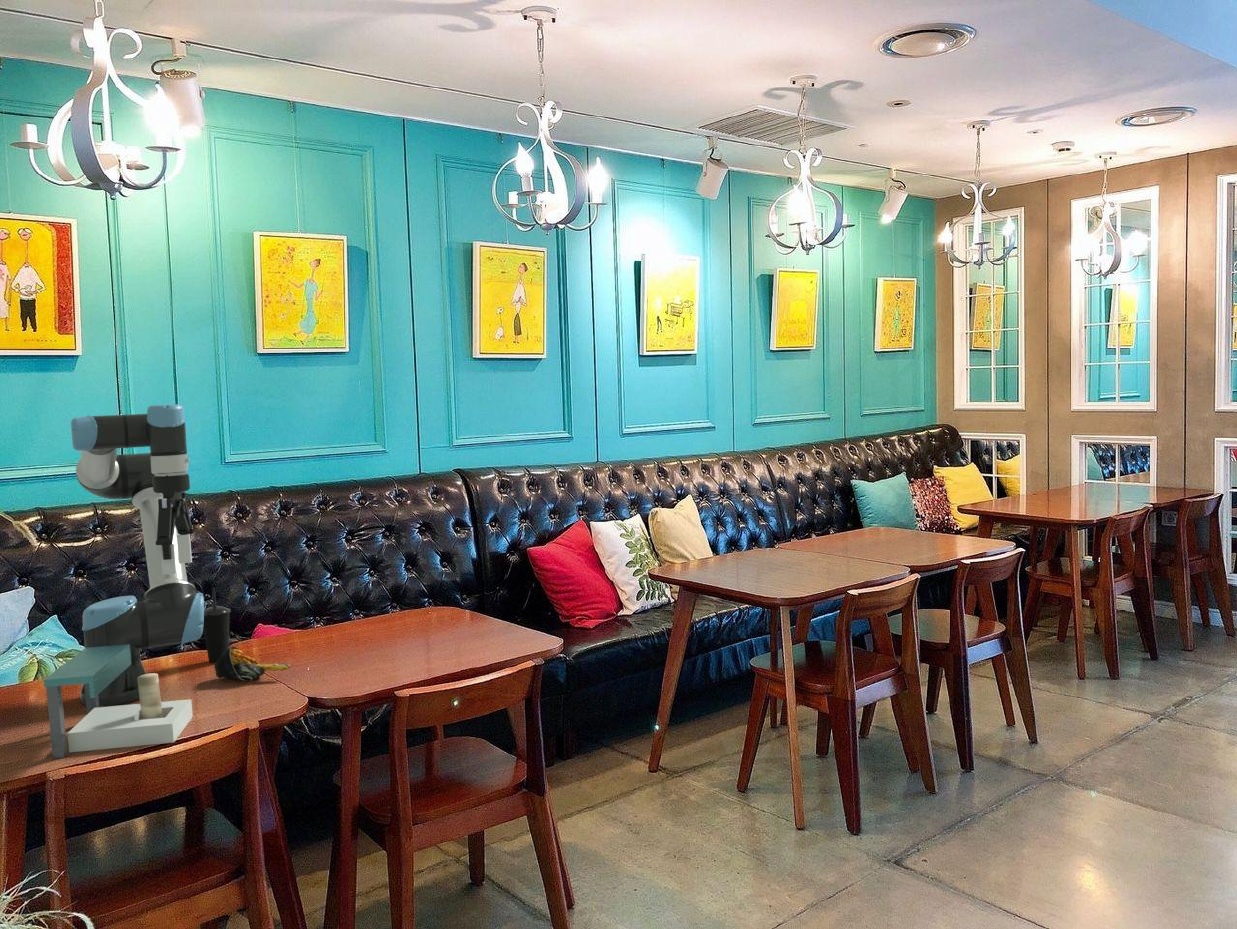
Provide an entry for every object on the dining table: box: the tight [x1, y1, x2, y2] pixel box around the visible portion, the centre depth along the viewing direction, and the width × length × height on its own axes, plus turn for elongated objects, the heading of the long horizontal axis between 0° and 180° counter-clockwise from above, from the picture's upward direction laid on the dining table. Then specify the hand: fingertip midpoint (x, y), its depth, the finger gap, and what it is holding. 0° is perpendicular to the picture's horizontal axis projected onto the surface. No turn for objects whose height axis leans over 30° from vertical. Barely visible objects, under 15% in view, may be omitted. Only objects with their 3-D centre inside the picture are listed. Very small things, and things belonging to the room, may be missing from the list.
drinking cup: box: [203, 587, 231, 664], centre depth 262 cm, size 8×8×20 cm
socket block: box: [66, 698, 194, 753], centre depth 209 cm, size 16×20×4 cm
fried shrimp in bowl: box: [213, 644, 291, 682], centre depth 246 cm, size 9×11×18 cm
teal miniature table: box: [43, 644, 131, 760], centre depth 207 cm, size 24×9×16 cm, turn 10°
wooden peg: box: [137, 672, 163, 720], centre depth 209 cm, size 4×4×12 cm
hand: (177, 568), depth 221 cm, fingers open, 13 cm apart
